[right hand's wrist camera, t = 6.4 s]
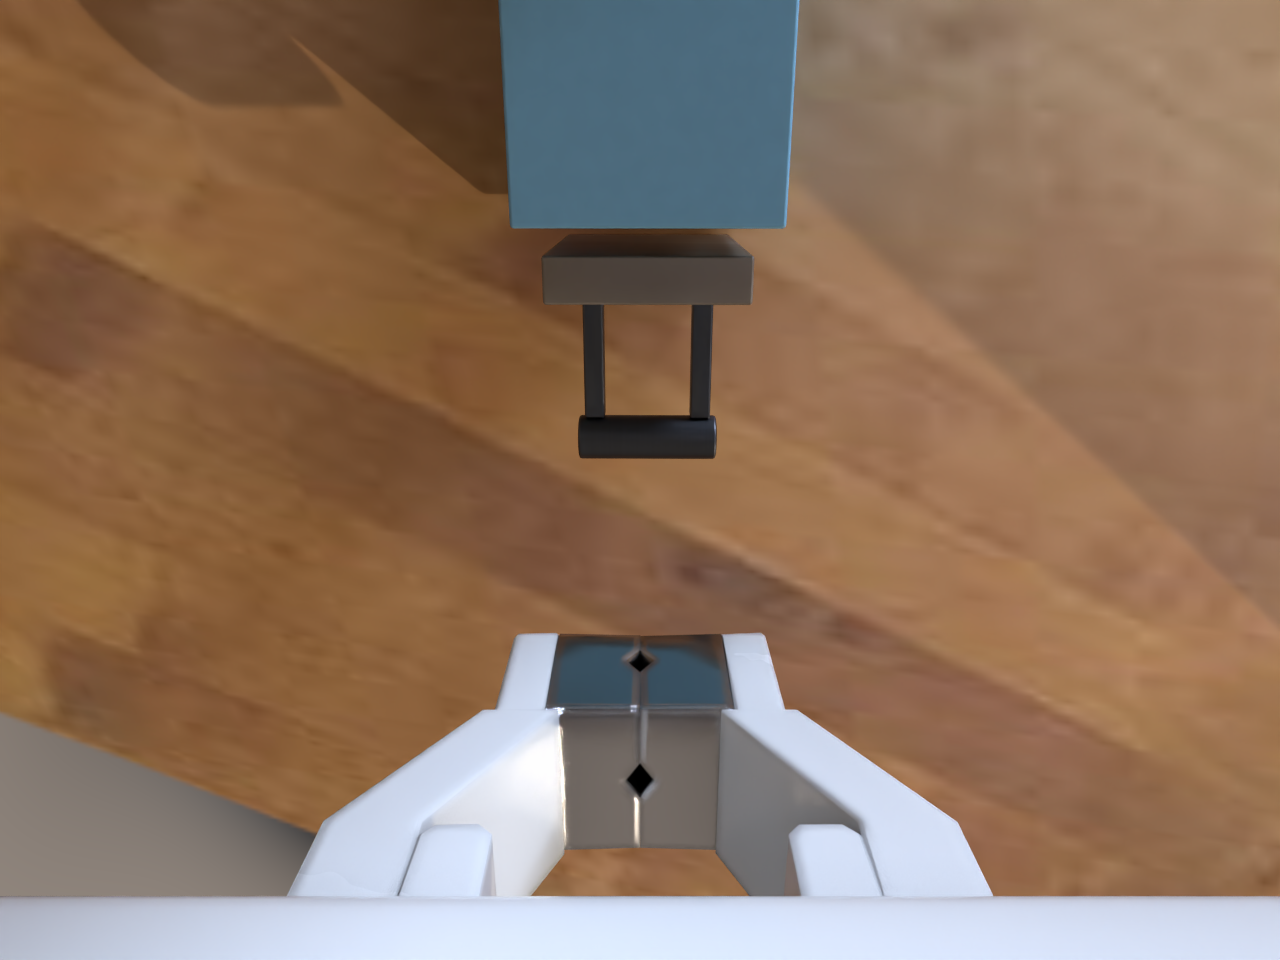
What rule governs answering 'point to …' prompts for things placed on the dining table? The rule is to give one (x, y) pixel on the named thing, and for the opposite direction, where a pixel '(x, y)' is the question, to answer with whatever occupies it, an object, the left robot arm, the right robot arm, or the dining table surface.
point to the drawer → (647, 277)
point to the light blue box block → (648, 112)
